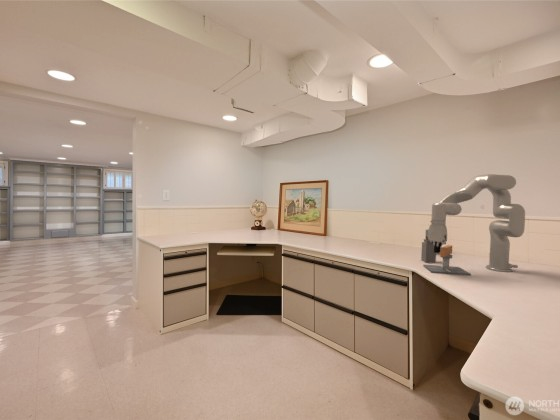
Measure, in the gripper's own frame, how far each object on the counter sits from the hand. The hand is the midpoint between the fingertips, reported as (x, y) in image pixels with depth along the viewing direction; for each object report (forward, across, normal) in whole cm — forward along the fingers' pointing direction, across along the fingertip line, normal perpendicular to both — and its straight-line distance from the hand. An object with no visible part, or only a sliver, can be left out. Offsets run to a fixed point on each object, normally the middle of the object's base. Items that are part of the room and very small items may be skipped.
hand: (436, 252), depth 159 cm
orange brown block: (+3, 0, +7) cm, 8 cm away
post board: (+12, 0, +8) cm, 14 cm away
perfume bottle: (+12, -21, +16) cm, 29 cm away
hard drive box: (+12, -43, +46) cm, 64 cm away
